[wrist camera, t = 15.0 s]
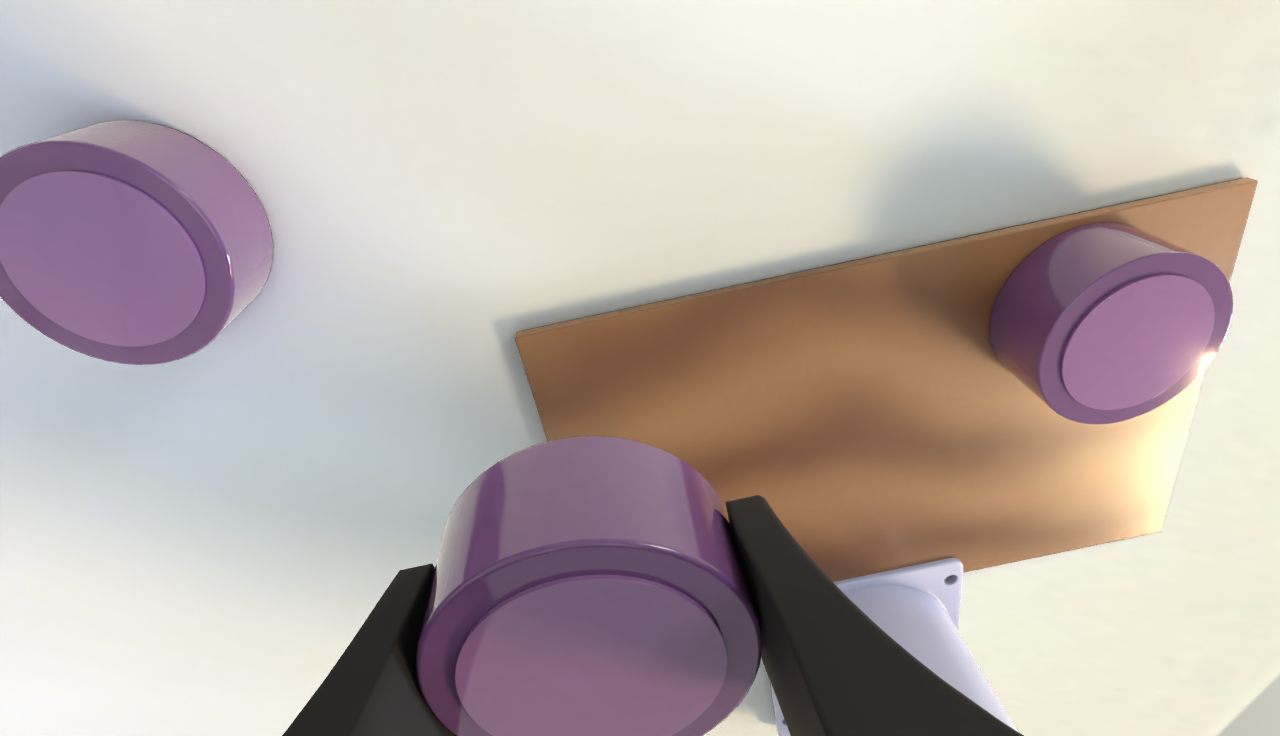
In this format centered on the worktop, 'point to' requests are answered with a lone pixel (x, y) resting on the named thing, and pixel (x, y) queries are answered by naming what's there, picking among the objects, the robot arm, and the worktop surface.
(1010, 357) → the dish top
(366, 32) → the worktop surface
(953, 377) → the mat
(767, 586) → the robot arm
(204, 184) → the dish bottom
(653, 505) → the dish middle
